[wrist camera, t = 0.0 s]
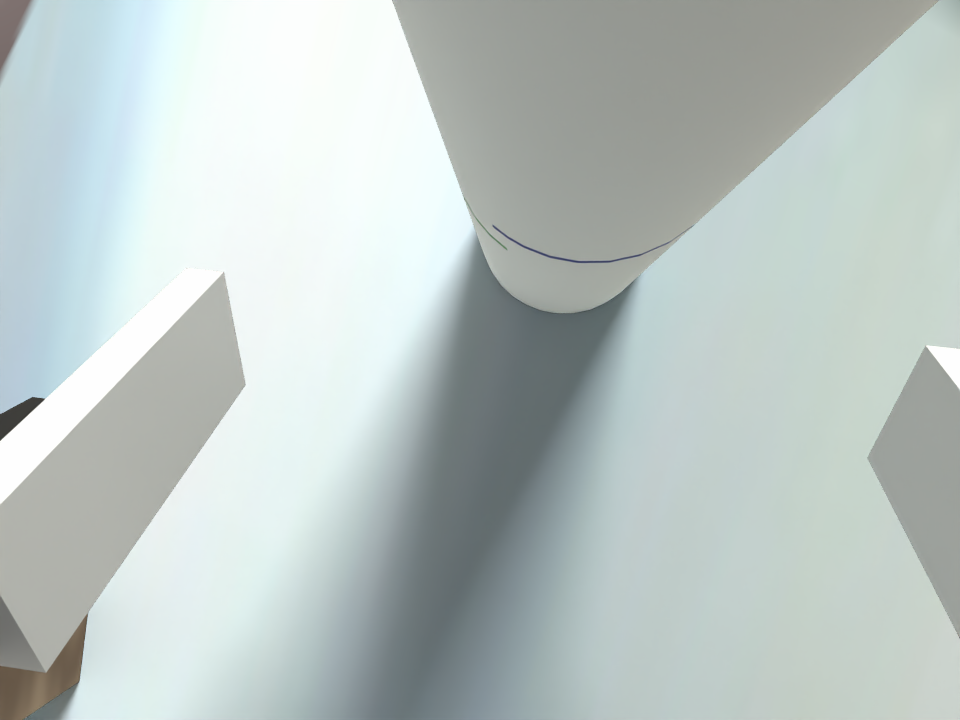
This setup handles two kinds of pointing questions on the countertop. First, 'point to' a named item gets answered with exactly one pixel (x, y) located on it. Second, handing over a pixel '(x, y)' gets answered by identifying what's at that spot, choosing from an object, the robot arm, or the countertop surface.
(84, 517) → the robot arm
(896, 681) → the countertop surface
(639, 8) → the cylindrical container
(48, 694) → the peg
